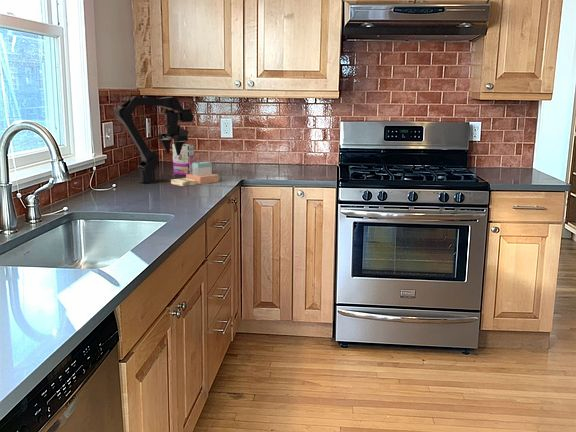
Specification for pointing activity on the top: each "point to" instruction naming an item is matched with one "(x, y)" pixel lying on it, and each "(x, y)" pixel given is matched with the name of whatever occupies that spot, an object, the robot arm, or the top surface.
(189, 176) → the terracotta riser
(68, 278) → the top surface
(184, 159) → the candy bar box
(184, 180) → the birch board
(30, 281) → the top surface
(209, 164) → the housing cover
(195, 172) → the housing base
